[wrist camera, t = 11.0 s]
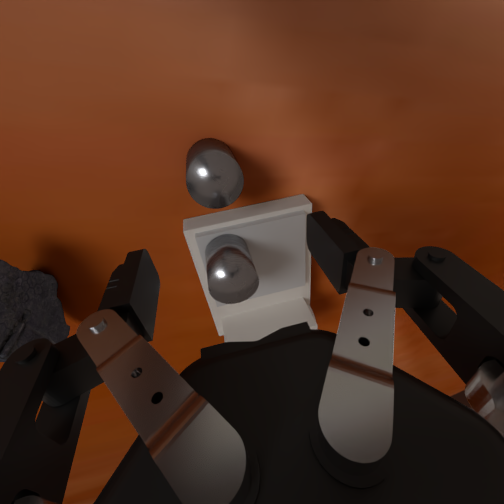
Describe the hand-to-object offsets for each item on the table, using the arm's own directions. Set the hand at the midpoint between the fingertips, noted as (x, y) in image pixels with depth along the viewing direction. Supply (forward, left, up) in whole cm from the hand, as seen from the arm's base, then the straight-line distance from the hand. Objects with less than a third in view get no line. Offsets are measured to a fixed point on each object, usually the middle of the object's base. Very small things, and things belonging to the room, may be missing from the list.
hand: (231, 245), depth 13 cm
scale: (+13, +2, -14) cm, 19 cm away
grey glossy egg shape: (+8, 0, -10) cm, 13 cm away
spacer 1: (0, 0, -14) cm, 14 cm away
